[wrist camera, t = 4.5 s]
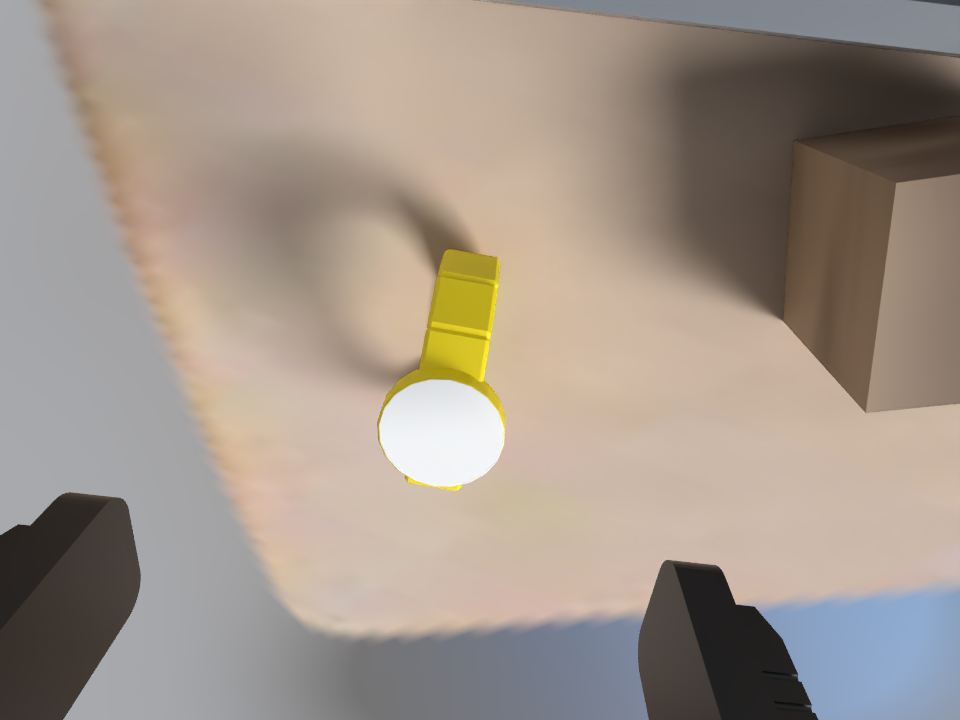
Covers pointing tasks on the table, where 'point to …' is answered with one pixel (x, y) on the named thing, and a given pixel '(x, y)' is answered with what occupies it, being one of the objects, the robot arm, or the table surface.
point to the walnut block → (879, 261)
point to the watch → (449, 384)
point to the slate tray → (797, 19)
